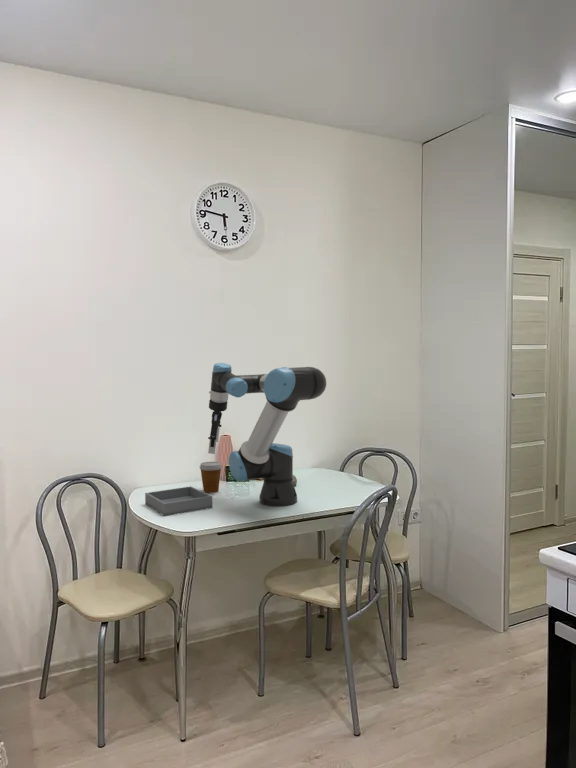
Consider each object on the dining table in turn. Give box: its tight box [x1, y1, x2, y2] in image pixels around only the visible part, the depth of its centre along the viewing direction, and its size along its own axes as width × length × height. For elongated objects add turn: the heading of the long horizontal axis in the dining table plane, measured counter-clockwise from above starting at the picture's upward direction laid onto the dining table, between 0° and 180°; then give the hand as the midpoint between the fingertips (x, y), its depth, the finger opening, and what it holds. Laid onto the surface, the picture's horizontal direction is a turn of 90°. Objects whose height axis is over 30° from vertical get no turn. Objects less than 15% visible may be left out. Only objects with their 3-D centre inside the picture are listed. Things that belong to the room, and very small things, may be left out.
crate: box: [144, 486, 213, 517], centre depth 240 cm, size 20×20×4 cm
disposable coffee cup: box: [199, 461, 223, 494], centre depth 263 cm, size 10×10×12 cm
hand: (213, 447), depth 261 cm, fingers open, 13 cm apart
